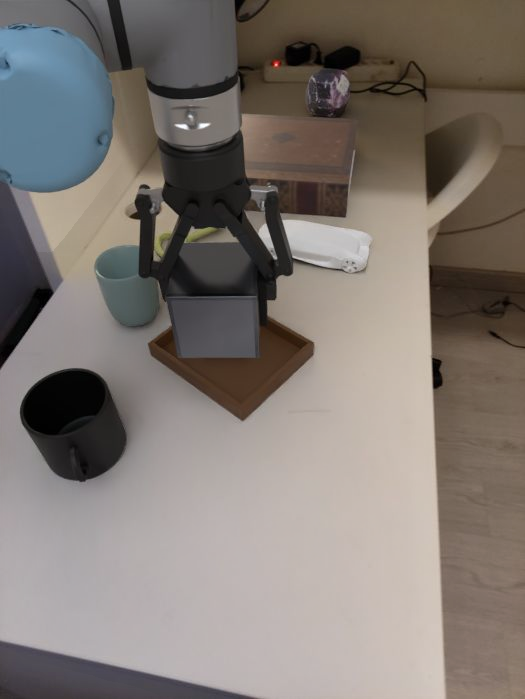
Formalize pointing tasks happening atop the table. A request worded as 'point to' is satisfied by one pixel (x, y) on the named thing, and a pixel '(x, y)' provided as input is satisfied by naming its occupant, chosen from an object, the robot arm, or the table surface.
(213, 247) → the grey open-sided box
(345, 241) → the toy car
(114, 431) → the mug
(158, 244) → the key
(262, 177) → the book
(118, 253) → the cup
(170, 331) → the tray
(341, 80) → the mineral specimen
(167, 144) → the robot arm
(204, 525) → the table surface
